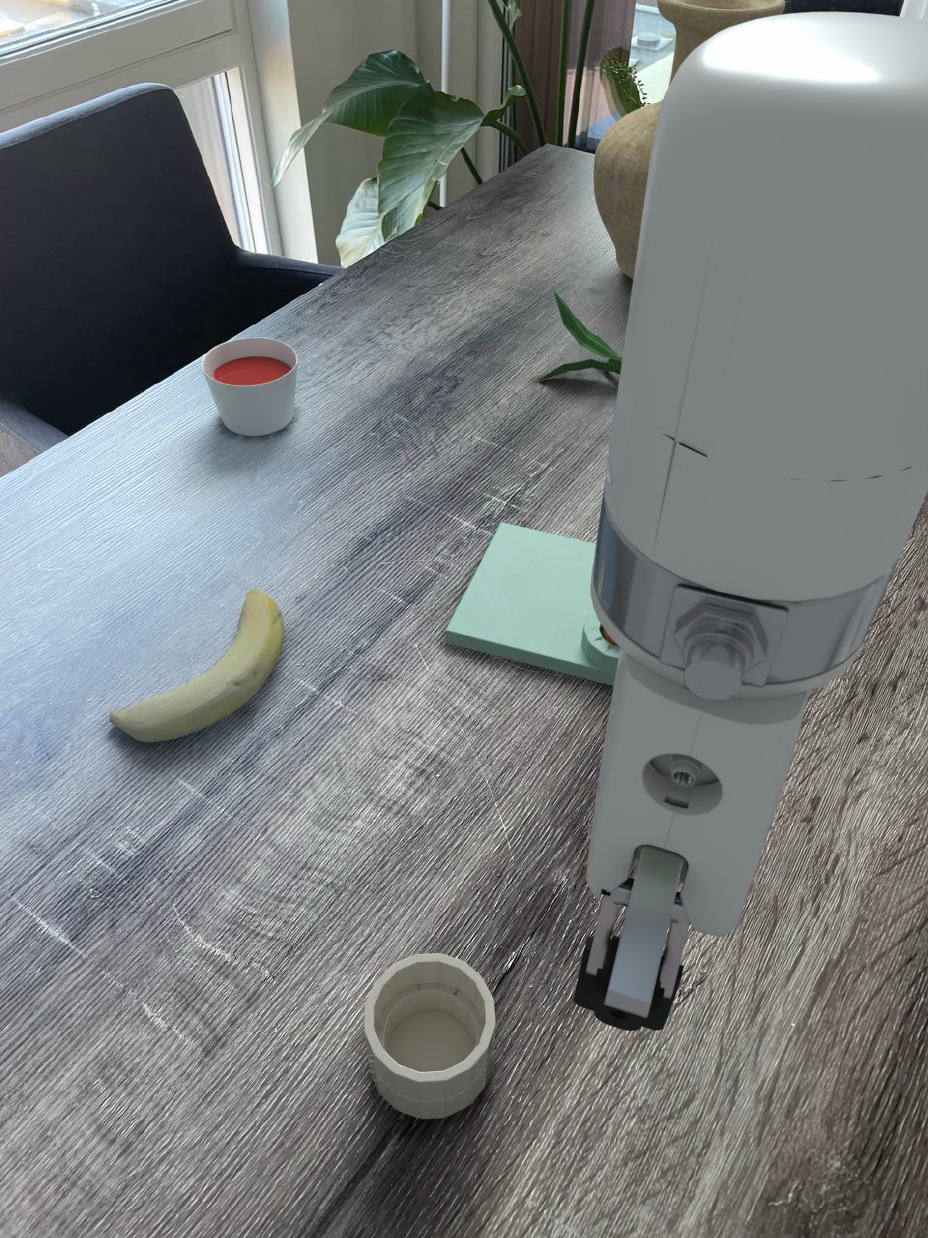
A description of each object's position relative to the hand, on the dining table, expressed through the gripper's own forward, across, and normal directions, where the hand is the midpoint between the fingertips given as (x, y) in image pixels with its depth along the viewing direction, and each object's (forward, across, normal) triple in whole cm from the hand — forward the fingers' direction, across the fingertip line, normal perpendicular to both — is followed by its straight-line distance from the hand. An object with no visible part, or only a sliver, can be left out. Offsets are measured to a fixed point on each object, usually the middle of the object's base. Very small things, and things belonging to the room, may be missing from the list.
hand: (644, 894), depth 39 cm
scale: (+20, +36, +10) cm, 43 cm away
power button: (+18, +32, +5) cm, 37 cm away
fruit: (+21, +20, +33) cm, 44 cm away
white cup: (+21, -1, +9) cm, 22 cm away
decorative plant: (+21, +70, +7) cm, 74 cm away
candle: (+21, +53, +46) cm, 73 cm away
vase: (+21, +98, +12) cm, 101 cm away
